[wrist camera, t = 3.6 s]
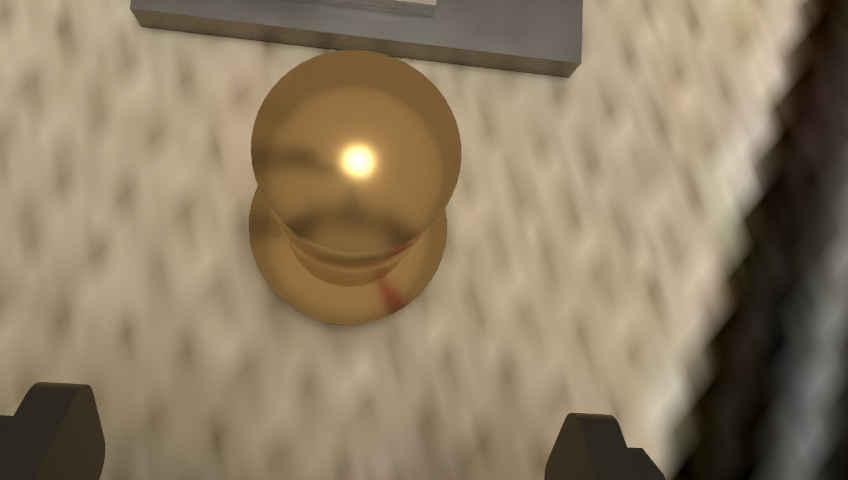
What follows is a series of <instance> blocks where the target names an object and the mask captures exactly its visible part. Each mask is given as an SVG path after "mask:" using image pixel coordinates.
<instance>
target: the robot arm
mask: <svg viewBox="0 0 848 480" xmlns="http://www.w3.org/2000/svg"><path fill="white" fill-rule="evenodd" d="M104 458H105V440H104V435H103V431H102V427H101V423H100V419H99V415H98V411H97V407H96V403H95V399H94V395H93V391H92V389H91V387H90V386H89V385H85V384H67V383H49V382H38V383H36V384H34V385H33V386H32V387H31V388H30V389H29V391H28V392H27V394H26V395H25V397H24V399H23V401H22V402H21V404H20V406H19V407H18V409H17V411H16V413H15V414H14V416H3V415H0V480H99V479H100V476H101V473H102V469H103V464H104ZM545 480H666V479H665V477H664V475H663V473H662V472H661V471H660V470H659V468H658V467H657V466H656V465H655V463H654V462H653V461H652V460H651V458H650V457H649V456H648V455H647V454H646V452H645V451H644V450H643V449H642V448H627V446H626V443H625V440H624V437H623V434H622V432H621V429H620V426H619V424H618V422H617V420H616V419H615V417H613V416H612V415H602V414H584V413H569V414H568V415H567V417H566V418H565V421H564V423H563V425H562V428H561V430H560V433H559V435H558V437H557V440H556V442H555V444H554V447H553V449H552V451H551V454H550V456H549V459H548V461H547V464H546V469H545Z"/></svg>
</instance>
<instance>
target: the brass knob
mask: <svg viewBox="0 0 848 480" xmlns="http://www.w3.org/2000/svg"><path fill="white" fill-rule="evenodd" d="M251 156H252V166H253V170H254V174H255V178H256V181H257V183H258V187H257V189H256V192H255V195H254V198H253V201H252V205H251V210H250V216H249V234H250V243H251V247H252V251H253V255H254V258H255V260H256V263H257V265H258V268H259V269H260V271H261V273H262V275H263V277H264V278H265V280H266V281H267V282H268V284H269V285H270V286H271V288H272V289H273V290H274V291H275V292H276V293H277V294H278V295H279V296H280V297H281V298H282V299H283V300H284V301H286V302H287V303H288V304H290V305H291V306H292V307H294V308H295V309H297V310H299V311H300V312H302V313H304V314H305V315H307V316H310V317H312V318H314V319H317V320H320V321H324V322H327V323H333V324H341V325H354V324H362V323H367V322H371V321H375V320H378V319H380V318H383V317H385V316H388V315H390V314H393V313H394V312H396V311H398V310H400V309H401V308H403V307H405V306H406V305H407V304H408V303H410V302H411V301H412V300H414V299H415V298H416V297H417V296H418V295H419V294H420V293H421V292H422V291H423V290H424V288H425V287H426V286H427V285H428V283H429V282H430V281H431V279H432V277H433V276H434V274H435V272H436V270H437V268H438V266H439V264H440V261H441V259H442V256H443V252H444V248H445V243H446V235H447V219H446V212H445V207H446V205H447V203H448V202H449V200H450V198H451V196H452V194H453V191H454V189H455V187H456V184H457V180H458V176H459V173H460V165H461V142H460V135H459V131H458V127H457V123H456V120H455V118H454V115H453V113H452V111H451V109H450V107H449V105H448V103H447V102H446V100H445V98H444V97H443V95H442V94H441V93H440V92H439V90H438V89H437V88H436V87H435V86H434V85H433V84H432V82H431V81H430V80H429V79H428V78H427V77H425V76H424V75H423V74H421V73H420V72H419V71H418V70H416V69H415V68H413V67H411V66H410V65H408V64H406V63H405V62H403V61H400V60H398V59H396V58H394V57H391V56H388V55H385V54H381V53H377V52H372V51H365V50H343V51H336V52H331V53H326V54H323V55H320V56H317V57H314V58H312V59H310V60H307V61H305V62H303V63H301V64H300V65H298V66H297V67H295V68H294V69H292V70H291V71H289V72H288V73H287V74H286V75H285V76H283V77H282V78H281V79H280V80H279V81H278V82H277V84H276V85H275V86H274V87H273V88H272V89H271V91H270V92H269V94H268V95H267V97H266V98H265V99H264V101H263V103H262V105H261V107H260V109H259V111H258V114H257V117H256V120H255V123H254V127H253V133H252V140H251Z"/></svg>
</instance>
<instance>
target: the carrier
mask: <svg viewBox="0 0 848 480" xmlns="http://www.w3.org/2000/svg"><path fill="white" fill-rule="evenodd" d="M130 9H131V11H132V12H133V14H134V15H135V17H136V19H137V20H138V22H139V23H140V25H141V26H143V27H152V28H160V29H169V30H177V31H185V32H194V33H202V34H211V35H219V36H227V37H236V38H244V39H253V40H261V41H269V42H278V43H286V44H295V45H303V46H311V47H320V48H328V49H337V50H365V51H372V52H377V53H381V54H385V55H388V56H395V57H404V58H412V59H420V60H429V61H437V62H446V63H454V64H462V65H471V66H479V67H488V68H496V69H504V70H513V71H521V72H530V73H538V74H546V75H555V76H563V77H569V76H570V75H571V74H572V73H573V72H574V71H575V70H576V69H577V67H578V66H579V65H580V64H581V49H582V9H583V0H131V5H130Z"/></svg>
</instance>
